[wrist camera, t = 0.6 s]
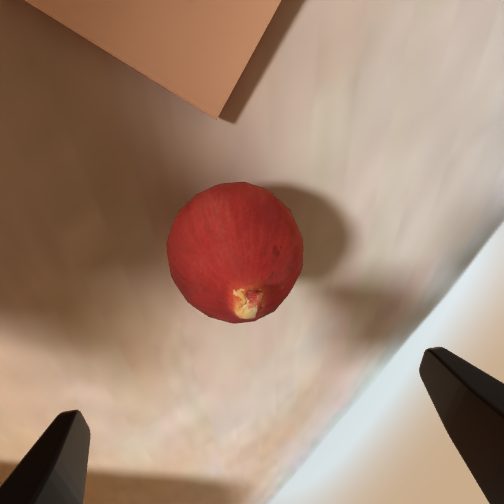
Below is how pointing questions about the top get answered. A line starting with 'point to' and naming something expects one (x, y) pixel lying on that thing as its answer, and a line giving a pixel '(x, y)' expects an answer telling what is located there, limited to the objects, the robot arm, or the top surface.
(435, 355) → the robot arm
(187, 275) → the onion
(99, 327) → the top surface
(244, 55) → the letter tile
